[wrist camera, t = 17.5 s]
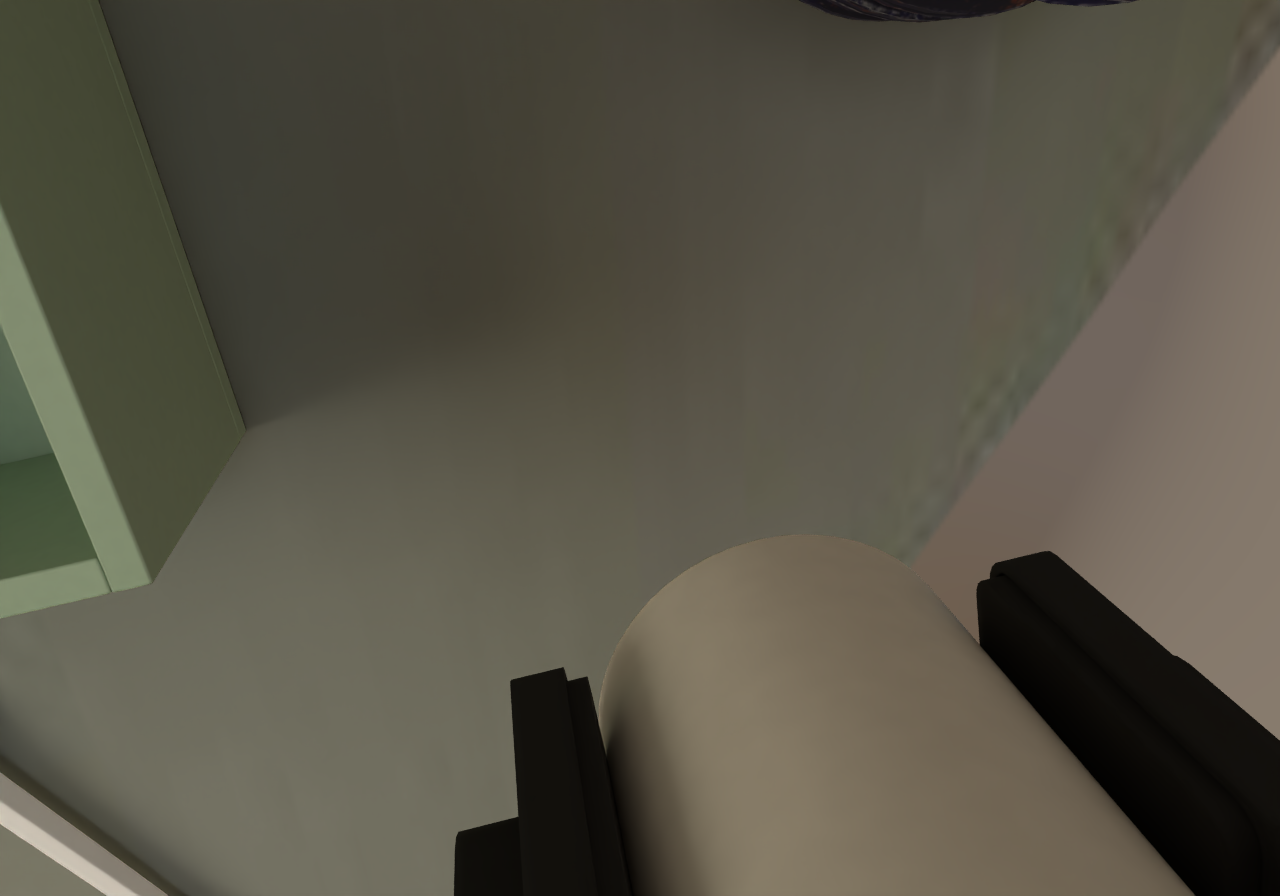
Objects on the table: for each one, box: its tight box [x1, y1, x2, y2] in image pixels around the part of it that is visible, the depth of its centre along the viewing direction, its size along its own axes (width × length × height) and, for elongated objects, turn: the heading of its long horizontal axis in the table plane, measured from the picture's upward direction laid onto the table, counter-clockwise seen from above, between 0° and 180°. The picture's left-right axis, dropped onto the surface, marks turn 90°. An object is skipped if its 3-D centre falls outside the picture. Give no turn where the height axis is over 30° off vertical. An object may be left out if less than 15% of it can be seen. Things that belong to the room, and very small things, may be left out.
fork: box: [0, 773, 169, 896], centre depth 32 cm, size 3×20×2 cm, turn 38°
